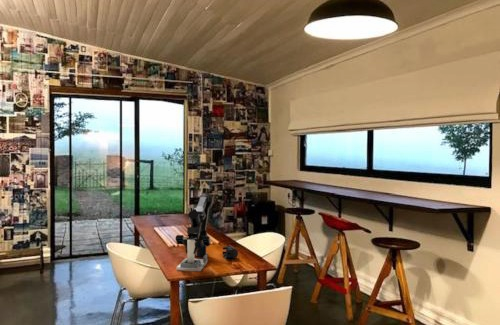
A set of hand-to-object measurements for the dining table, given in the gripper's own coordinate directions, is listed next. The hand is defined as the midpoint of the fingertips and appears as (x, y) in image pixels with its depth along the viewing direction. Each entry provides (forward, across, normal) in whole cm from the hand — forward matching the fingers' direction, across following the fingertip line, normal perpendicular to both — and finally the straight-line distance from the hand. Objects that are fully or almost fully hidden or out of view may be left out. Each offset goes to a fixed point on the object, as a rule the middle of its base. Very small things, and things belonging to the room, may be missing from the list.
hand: (190, 253), depth 220 cm
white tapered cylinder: (+4, 0, +6) cm, 7 cm away
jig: (+1, 0, +10) cm, 10 cm away
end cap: (-12, +18, +25) cm, 33 cm away
